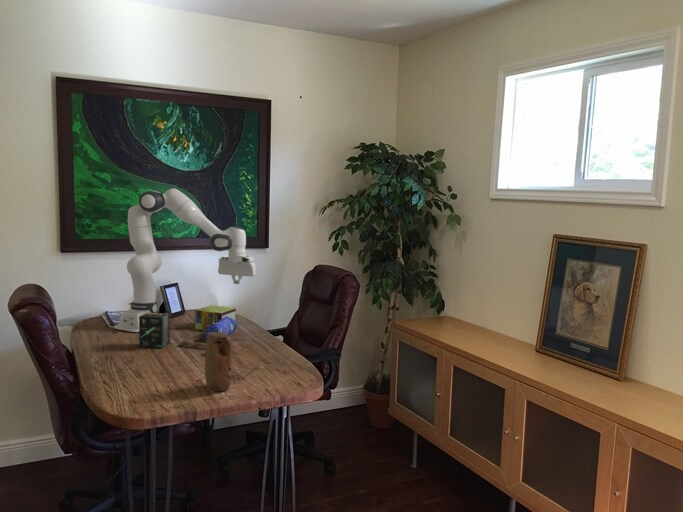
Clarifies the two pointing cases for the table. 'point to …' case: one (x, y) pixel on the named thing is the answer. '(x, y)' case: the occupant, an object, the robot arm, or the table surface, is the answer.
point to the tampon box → (154, 330)
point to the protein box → (212, 315)
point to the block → (218, 361)
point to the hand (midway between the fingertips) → (236, 283)
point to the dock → (192, 344)
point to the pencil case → (222, 326)
